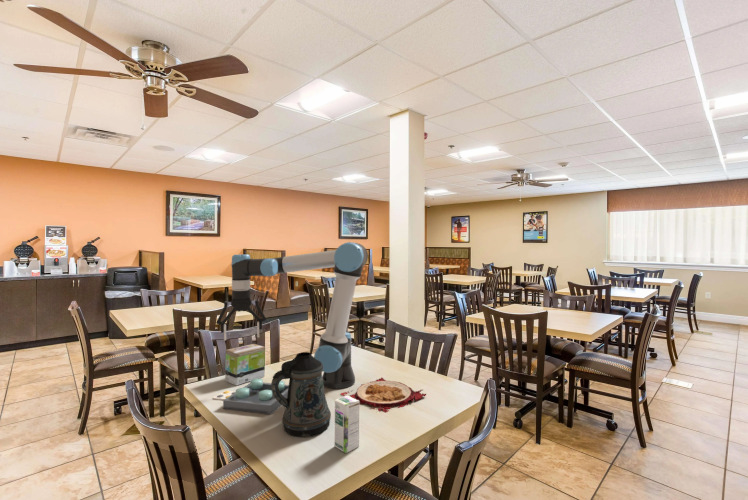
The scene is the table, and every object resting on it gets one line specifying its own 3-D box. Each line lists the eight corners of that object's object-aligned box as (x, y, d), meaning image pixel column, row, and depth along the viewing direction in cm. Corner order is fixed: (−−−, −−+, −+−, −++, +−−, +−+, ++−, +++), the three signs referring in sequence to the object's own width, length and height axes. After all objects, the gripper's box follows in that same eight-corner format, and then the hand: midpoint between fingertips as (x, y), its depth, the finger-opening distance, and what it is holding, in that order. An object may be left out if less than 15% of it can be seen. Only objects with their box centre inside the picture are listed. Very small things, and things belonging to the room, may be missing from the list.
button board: (294, 393, 152) (294, 385, 152) (270, 414, 132) (270, 405, 132) (252, 389, 157) (252, 381, 157) (223, 408, 137) (223, 400, 137)
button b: (274, 396, 140) (274, 390, 140) (268, 402, 135) (268, 395, 135) (263, 395, 142) (263, 389, 141) (256, 400, 137) (256, 394, 137)
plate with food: (382, 381, 167) (381, 374, 167) (426, 397, 148) (426, 388, 148) (340, 397, 151) (339, 388, 151) (383, 417, 131) (383, 407, 131)
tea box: (237, 386, 160) (236, 353, 160) (224, 381, 166) (224, 349, 166) (265, 376, 172) (265, 346, 172) (253, 372, 178) (253, 342, 178)
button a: (286, 387, 150) (286, 381, 150) (280, 391, 145) (280, 385, 145) (275, 386, 151) (275, 380, 151) (269, 390, 146) (269, 384, 146)
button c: (265, 385, 152) (265, 379, 152) (258, 389, 148) (258, 383, 148) (254, 384, 154) (254, 378, 154) (247, 388, 149) (247, 382, 149)
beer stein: (340, 421, 127) (340, 351, 127) (303, 447, 110) (302, 366, 110) (304, 410, 136) (304, 344, 135) (265, 433, 119) (265, 358, 119)
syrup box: (333, 446, 111) (333, 399, 111) (348, 439, 115) (348, 394, 115) (345, 454, 107) (345, 405, 107) (360, 446, 111) (360, 399, 111)
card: (241, 393, 152) (241, 391, 152) (230, 400, 144) (230, 399, 144) (225, 391, 154) (225, 389, 154) (212, 398, 146) (212, 397, 146)
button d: (251, 394, 143) (251, 388, 143) (244, 399, 138) (244, 393, 138) (240, 393, 144) (240, 387, 144) (233, 398, 139) (233, 391, 139)
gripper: (270, 287, 164) (270, 333, 164) (210, 290, 156) (211, 339, 156) (271, 289, 157) (272, 337, 157) (209, 292, 148) (209, 343, 148)
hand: (241, 338), depth 156 cm, fingers open, 13 cm apart
